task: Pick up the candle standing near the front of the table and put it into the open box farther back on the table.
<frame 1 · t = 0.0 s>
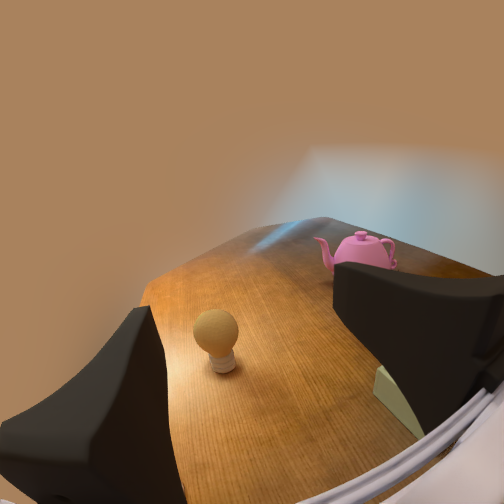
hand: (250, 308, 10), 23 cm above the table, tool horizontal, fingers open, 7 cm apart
teapot: (357, 283, 64), on the table
open box: (446, 392, 26), on the table
light bulb: (224, 369, 41), on the table
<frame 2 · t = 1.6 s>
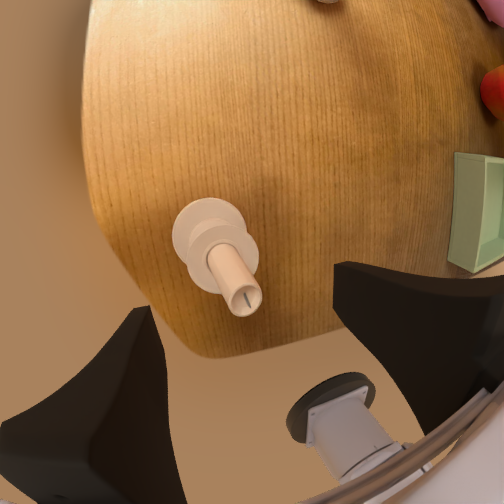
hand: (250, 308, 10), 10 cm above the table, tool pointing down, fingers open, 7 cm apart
open box: (481, 203, 28), on the table
candle: (208, 233, 20), on the table
apple: (483, 94, 24), on the table
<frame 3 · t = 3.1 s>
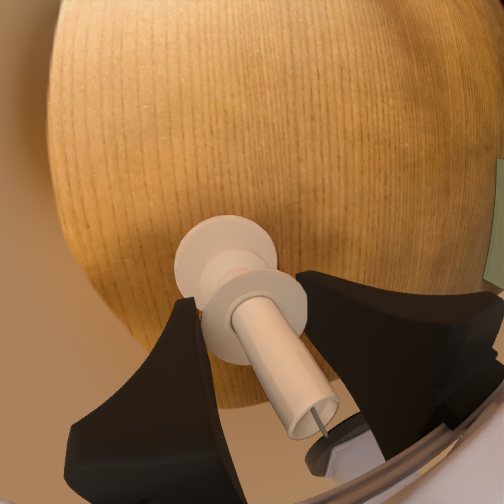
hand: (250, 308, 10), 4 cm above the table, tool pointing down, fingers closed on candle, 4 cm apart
candle: (224, 264, 15), on the table, touching gripper
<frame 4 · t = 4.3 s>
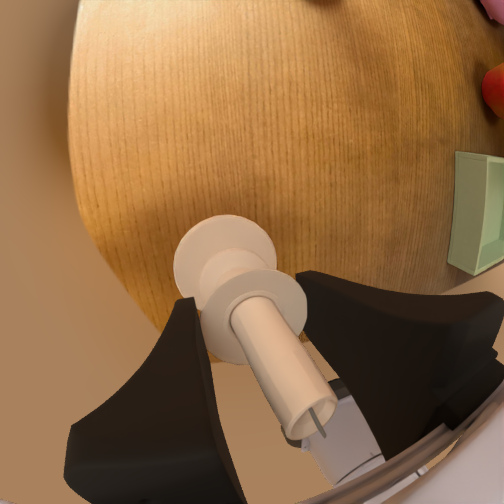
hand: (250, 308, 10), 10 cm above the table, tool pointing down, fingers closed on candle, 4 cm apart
open box: (482, 203, 28), on the table
candle: (224, 263, 15), point 5 cm above the table, touching gripper
apple: (485, 93, 23), on the table
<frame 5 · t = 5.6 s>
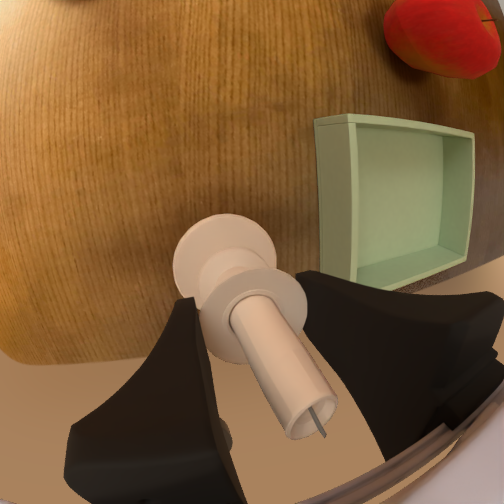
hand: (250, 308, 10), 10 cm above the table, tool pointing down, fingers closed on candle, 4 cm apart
open box: (393, 195, 23), on the table
candle: (223, 263, 15), point 6 cm above the table, touching gripper
apple: (395, 41, 19), on the table
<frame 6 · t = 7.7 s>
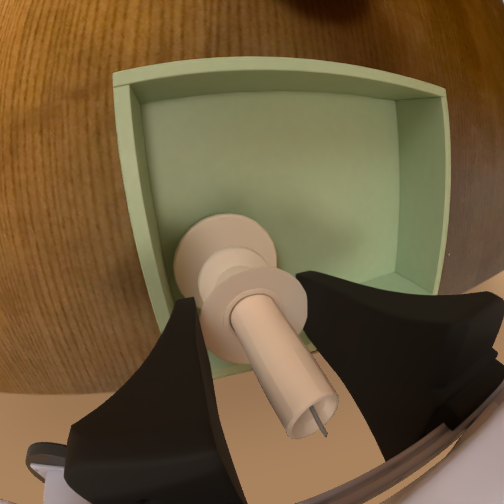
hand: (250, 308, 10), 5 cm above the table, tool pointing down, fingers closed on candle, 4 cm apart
open box: (296, 200, 15), on the table
candle: (224, 262, 14), point 1 cm above the table, touching gripper
when the fingers open (5 cm above the table, at t = 8.3 s): candle stays where it is, resting on open box.
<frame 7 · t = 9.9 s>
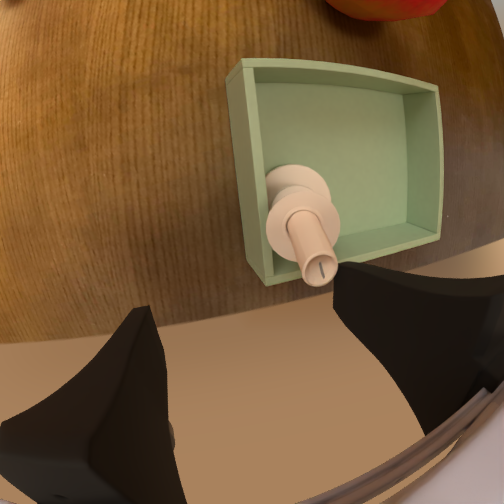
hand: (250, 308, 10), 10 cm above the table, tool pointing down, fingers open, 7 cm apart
open box: (337, 160, 21), on the table
candle: (292, 200, 19), point 1 cm above the table, touching gripper, open box
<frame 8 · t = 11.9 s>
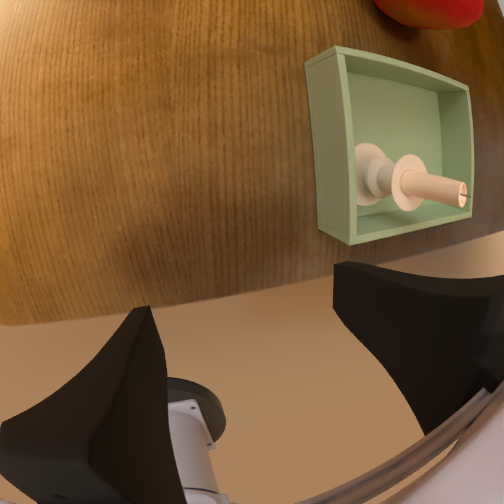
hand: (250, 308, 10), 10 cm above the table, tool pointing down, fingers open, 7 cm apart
open box: (390, 144, 22), on the table
candle: (362, 173, 21), resting on open box
apple: (384, 3, 17), on the table
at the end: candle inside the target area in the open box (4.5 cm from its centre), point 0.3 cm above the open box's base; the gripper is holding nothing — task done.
